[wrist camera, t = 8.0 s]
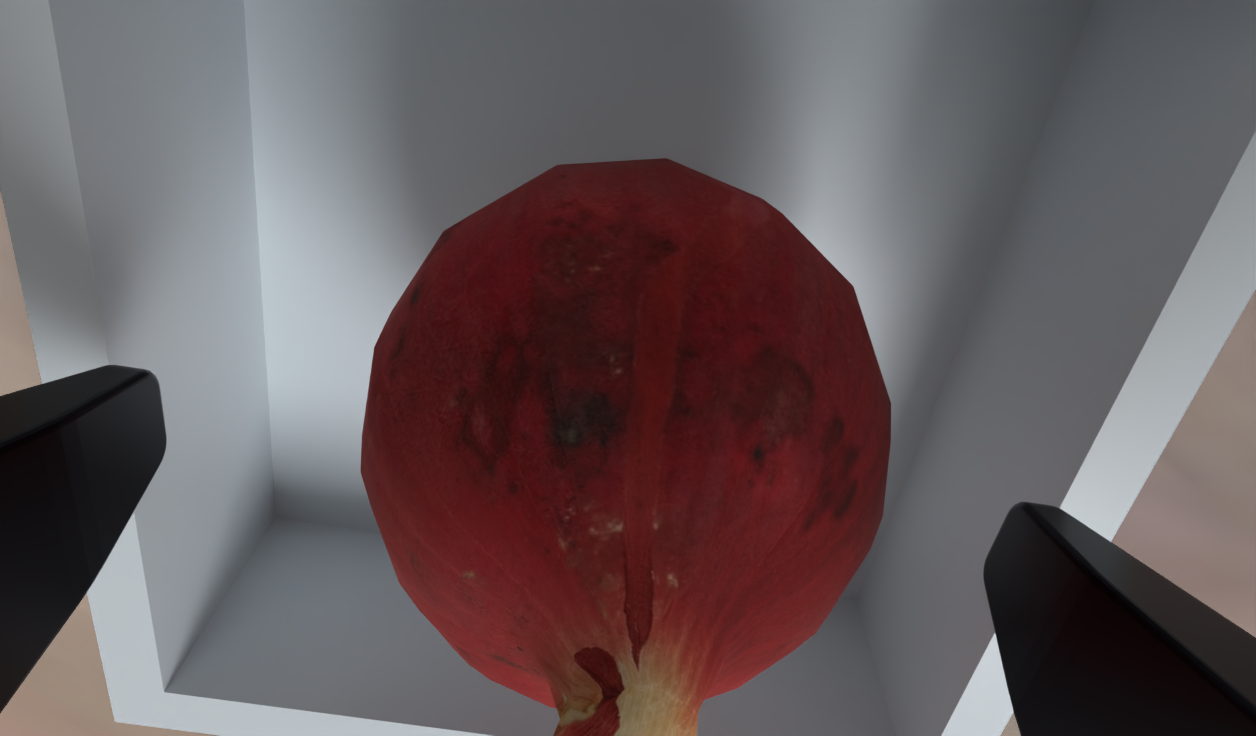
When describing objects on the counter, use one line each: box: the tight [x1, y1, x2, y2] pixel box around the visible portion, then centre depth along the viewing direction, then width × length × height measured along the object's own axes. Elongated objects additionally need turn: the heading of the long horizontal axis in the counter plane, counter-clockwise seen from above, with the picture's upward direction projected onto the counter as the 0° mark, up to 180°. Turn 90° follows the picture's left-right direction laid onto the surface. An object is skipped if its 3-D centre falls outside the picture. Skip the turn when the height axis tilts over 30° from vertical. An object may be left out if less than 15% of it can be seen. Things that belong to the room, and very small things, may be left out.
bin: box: [0, 0, 1256, 736], centre depth 11 cm, size 13×13×4 cm
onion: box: [360, 158, 891, 736], centre depth 9 cm, size 6×6×8 cm
